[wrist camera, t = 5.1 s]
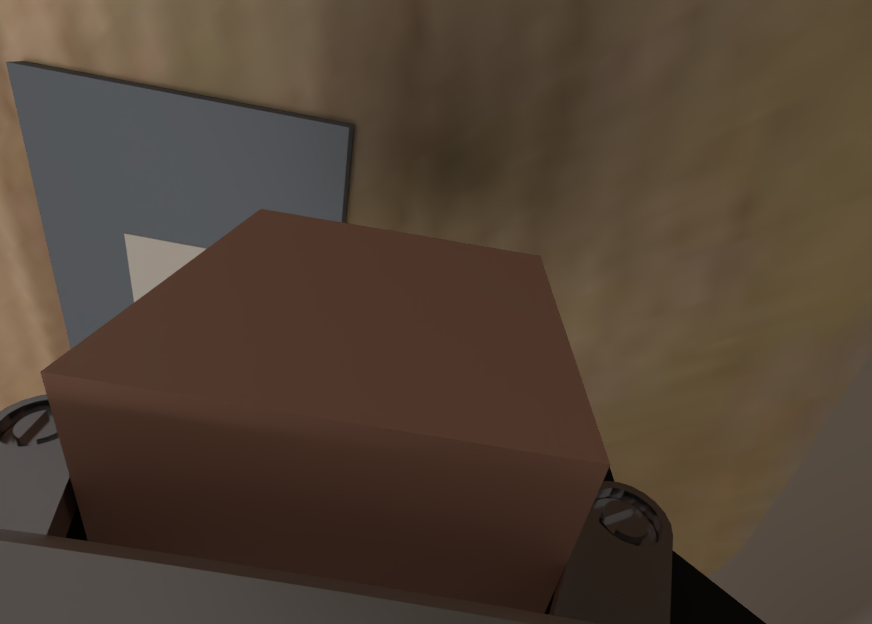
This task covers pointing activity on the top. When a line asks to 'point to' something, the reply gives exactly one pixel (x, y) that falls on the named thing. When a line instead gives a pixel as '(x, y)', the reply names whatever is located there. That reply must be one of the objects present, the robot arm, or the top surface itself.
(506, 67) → the top surface
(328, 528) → the terracotta block
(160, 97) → the board
